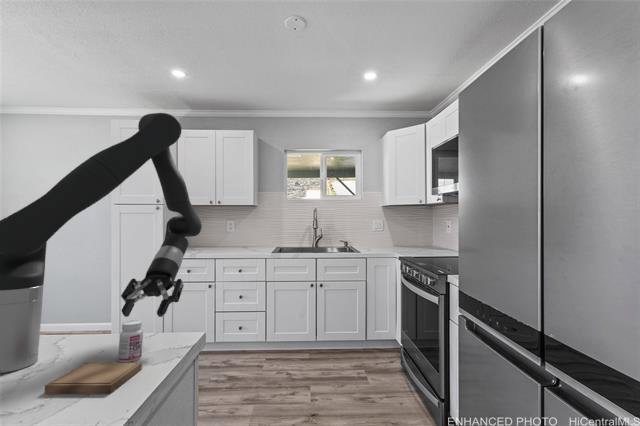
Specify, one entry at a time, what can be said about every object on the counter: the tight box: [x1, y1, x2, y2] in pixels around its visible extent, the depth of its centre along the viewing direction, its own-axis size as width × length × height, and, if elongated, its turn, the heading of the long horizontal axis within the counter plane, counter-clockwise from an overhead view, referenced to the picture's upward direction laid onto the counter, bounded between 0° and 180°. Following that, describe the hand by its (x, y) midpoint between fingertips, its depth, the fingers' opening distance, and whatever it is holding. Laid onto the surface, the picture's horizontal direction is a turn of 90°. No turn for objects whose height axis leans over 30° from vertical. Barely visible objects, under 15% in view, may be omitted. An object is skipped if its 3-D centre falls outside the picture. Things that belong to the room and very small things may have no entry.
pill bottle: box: [117, 319, 144, 363], centre depth 72 cm, size 5×5×8 cm
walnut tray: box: [43, 362, 143, 395], centre depth 61 cm, size 12×10×2 cm
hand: (142, 315), depth 77 cm, fingers open, 8 cm apart
